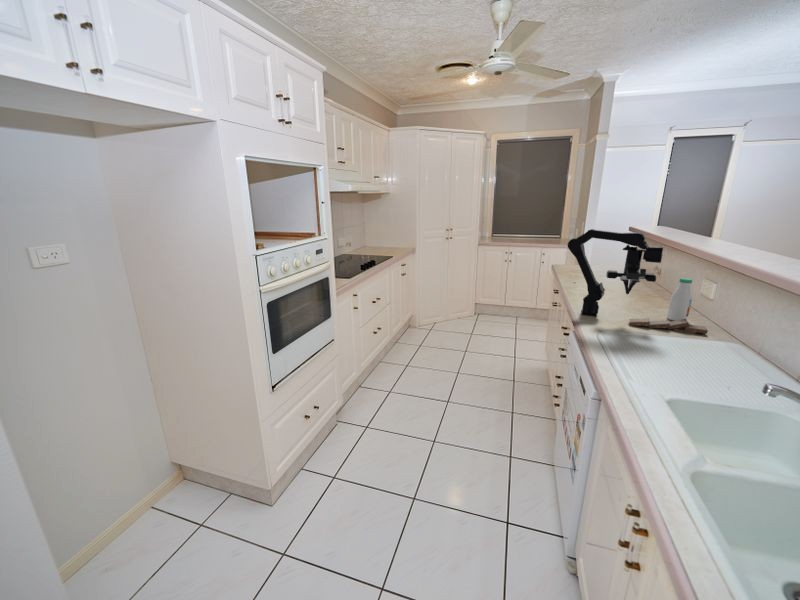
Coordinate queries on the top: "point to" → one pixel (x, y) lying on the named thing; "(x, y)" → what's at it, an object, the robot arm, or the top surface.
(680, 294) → the milk bottle
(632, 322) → the domino
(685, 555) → the top surface
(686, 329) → the domino
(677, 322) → the domino
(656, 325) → the domino
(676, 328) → the domino
